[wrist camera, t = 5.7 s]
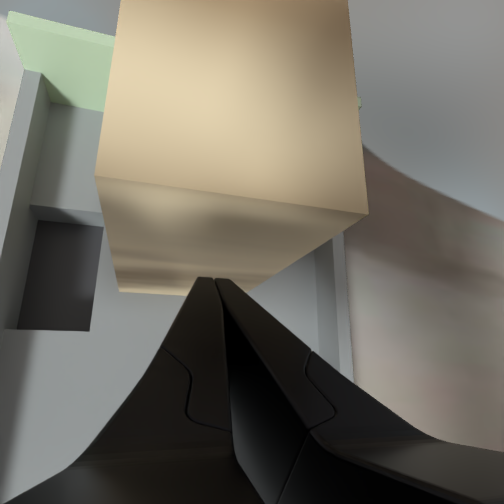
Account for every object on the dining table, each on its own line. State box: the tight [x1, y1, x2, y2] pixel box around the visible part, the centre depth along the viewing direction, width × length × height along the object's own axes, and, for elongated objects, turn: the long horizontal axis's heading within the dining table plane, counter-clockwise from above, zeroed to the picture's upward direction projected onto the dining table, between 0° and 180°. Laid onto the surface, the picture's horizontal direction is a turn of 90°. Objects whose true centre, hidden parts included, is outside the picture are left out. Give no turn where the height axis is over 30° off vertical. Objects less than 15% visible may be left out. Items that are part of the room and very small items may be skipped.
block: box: [94, 0, 369, 296], centre depth 12 cm, size 7×5×10 cm
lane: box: [0, 11, 362, 504], centre depth 14 cm, size 21×14×6 cm, turn 179°
